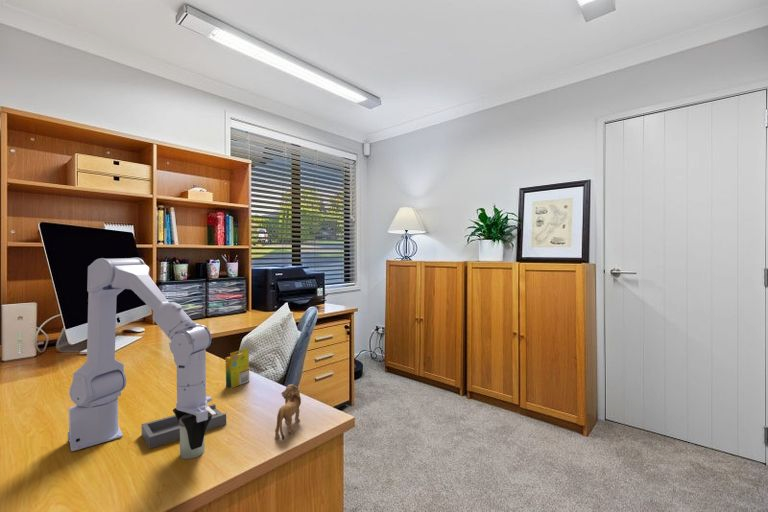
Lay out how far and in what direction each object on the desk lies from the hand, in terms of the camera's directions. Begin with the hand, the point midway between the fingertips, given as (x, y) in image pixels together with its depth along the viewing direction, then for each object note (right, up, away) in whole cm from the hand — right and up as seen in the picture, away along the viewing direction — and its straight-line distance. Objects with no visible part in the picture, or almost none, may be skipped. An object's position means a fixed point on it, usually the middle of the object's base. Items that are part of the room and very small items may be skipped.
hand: (192, 443), depth 81 cm
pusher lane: (-8, -2, +11) cm, 13 cm away
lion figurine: (+18, -2, +12) cm, 22 cm away
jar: (0, -2, 0) cm, 2 cm away
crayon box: (-7, -2, +42) cm, 43 cm away
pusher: (-5, -1, +13) cm, 14 cm away
